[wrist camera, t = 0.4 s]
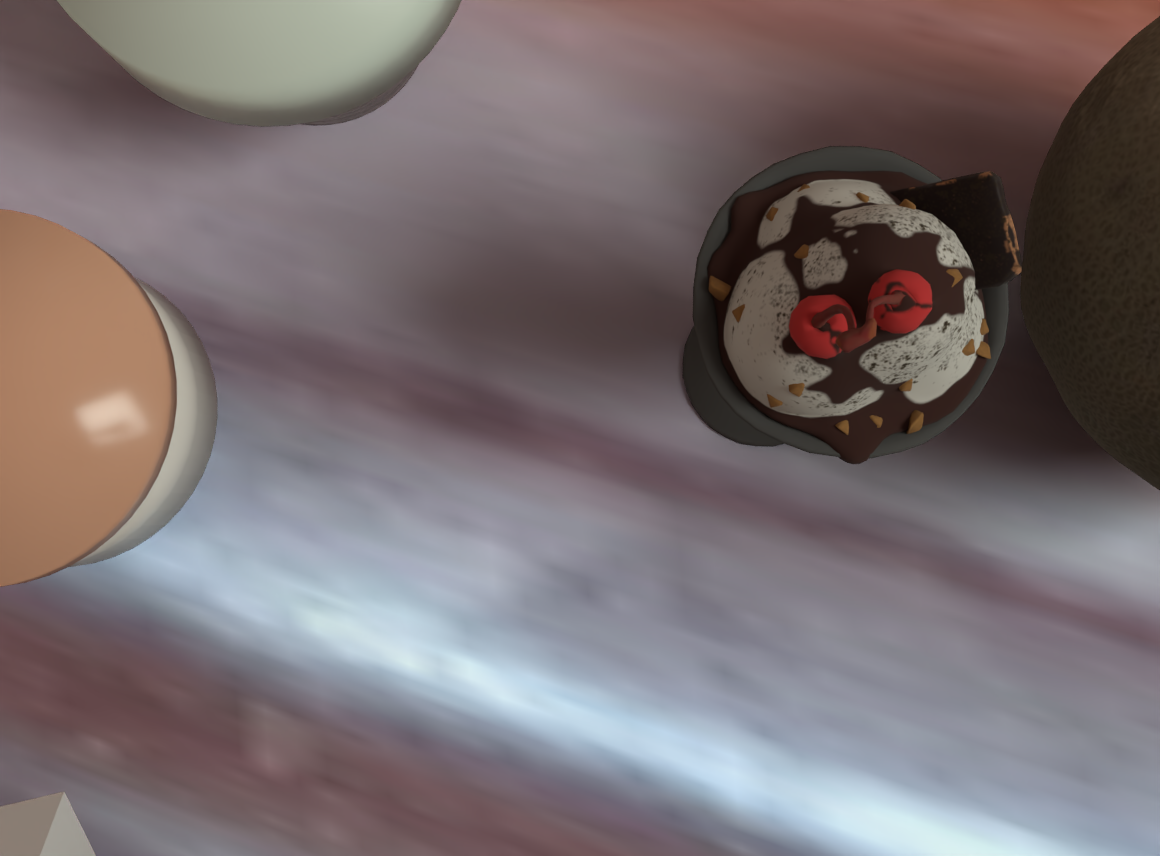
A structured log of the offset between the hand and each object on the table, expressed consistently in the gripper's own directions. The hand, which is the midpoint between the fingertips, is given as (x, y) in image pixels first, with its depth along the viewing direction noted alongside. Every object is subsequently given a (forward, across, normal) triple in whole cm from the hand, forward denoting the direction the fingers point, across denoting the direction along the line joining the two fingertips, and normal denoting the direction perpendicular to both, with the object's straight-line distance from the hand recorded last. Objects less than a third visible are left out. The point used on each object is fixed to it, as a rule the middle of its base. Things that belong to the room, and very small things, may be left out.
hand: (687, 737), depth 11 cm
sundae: (+19, -8, +4) cm, 21 cm away
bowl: (+22, +13, +3) cm, 26 cm away
